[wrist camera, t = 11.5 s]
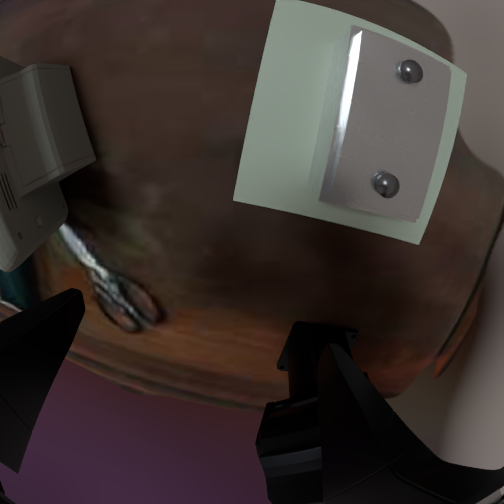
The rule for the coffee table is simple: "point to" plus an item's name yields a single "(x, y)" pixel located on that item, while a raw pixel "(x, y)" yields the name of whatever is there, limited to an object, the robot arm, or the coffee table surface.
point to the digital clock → (36, 154)
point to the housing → (379, 125)
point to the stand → (317, 121)
